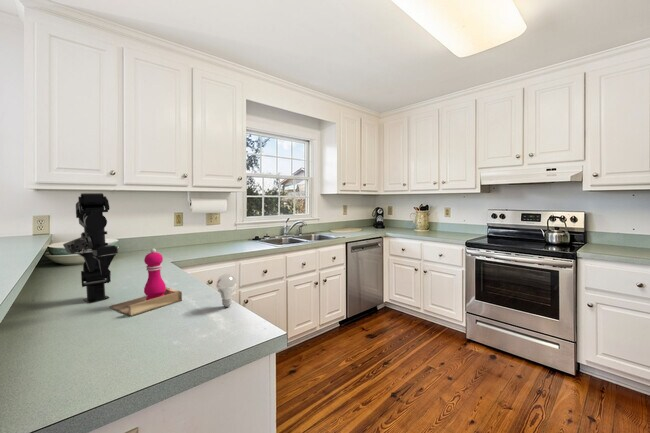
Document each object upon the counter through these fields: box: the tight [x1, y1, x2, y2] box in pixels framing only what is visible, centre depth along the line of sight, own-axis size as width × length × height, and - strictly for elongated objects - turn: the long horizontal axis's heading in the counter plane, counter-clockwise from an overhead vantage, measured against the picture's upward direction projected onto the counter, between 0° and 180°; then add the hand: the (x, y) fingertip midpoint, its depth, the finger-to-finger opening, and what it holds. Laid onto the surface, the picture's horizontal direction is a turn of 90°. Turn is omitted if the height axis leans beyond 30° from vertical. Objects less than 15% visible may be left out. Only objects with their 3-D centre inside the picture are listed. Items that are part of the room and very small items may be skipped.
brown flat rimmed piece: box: [109, 286, 183, 318], centre depth 113 cm, size 16×18×4 cm
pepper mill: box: [143, 248, 167, 301], centre depth 114 cm, size 7×7×20 cm
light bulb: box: [215, 273, 237, 308], centre depth 109 cm, size 7×7×12 cm
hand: (97, 273), depth 107 cm, fingers open, 9 cm apart
